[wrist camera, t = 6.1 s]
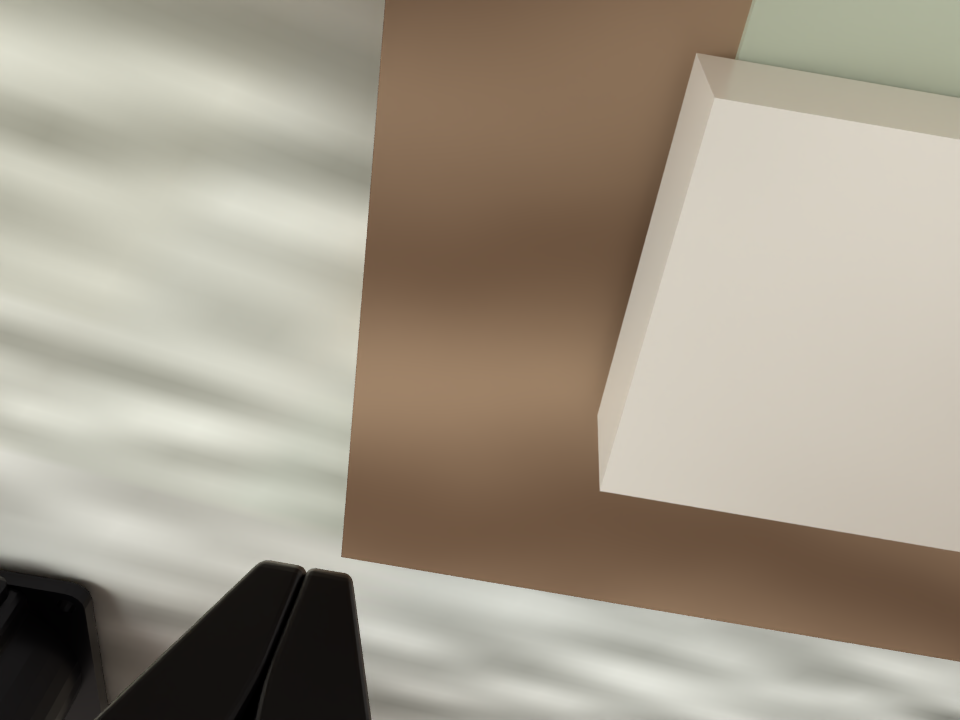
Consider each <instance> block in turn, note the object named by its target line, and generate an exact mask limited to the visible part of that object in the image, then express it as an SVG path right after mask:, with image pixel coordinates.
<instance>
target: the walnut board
mask: <svg viewBox="0 0 960 720" xmlns="http://www.w3.org/2000/svg"><path fill="white" fill-rule="evenodd" d="M696 53H700V54H706V55H712V56H717V57H723V58H729V59H735V60H741V61H747V62H752V63H758V64H764V65H770V66H776V67H782V68H787V69H793V70H799V71H805V72H811V73H817V74H822V75H828V76H834V77H840V78H846V79H852V80H857V81H863V82H869V83H875V84H881V85H886V86H892V87H898V88H904V89H910V90H916V91H921V92H927V93H933V94H939V95H945V96H951V97H956V98H960V0H385V11H384V24H383V37H382V49H381V62H380V75H379V87H378V100H377V112H376V125H375V138H374V150H373V163H372V176H371V188H370V201H369V214H368V226H367V239H366V251H365V264H364V277H363V289H362V302H361V315H360V327H359V340H358V353H357V365H356V378H355V390H354V403H353V416H352V428H351V441H350V454H349V466H348V479H347V492H346V504H345V517H344V529H343V542H342V555H341V557H345V558H351V559H357V560H363V561H368V562H374V563H380V564H386V565H392V566H398V567H404V568H410V569H416V570H422V571H428V572H433V573H439V574H445V575H451V576H457V577H463V578H469V579H475V580H481V581H487V582H493V583H498V584H504V585H510V586H516V587H522V588H528V589H534V590H540V591H546V592H552V593H558V594H563V595H569V596H575V597H581V598H587V599H593V600H599V601H605V602H611V603H617V604H623V605H629V606H634V607H640V608H646V609H652V610H658V611H664V612H670V613H676V614H682V615H688V616H694V617H699V618H705V619H711V620H717V621H723V622H729V623H735V624H741V625H747V626H753V627H759V628H764V629H770V630H776V631H782V632H788V633H794V634H800V635H806V636H812V637H818V638H824V639H829V640H835V641H841V642H847V643H853V644H859V645H865V646H871V647H877V648H883V649H889V650H894V651H900V652H906V653H912V654H918V655H924V656H930V657H936V658H942V659H948V660H954V661H959V662H960V552H957V551H951V550H945V549H939V548H933V547H927V546H922V545H916V544H910V543H904V542H898V541H892V540H886V539H880V538H874V537H869V536H863V535H857V534H851V533H845V532H839V531H833V530H827V529H821V528H815V527H810V526H804V525H798V524H792V523H786V522H780V521H774V520H768V519H762V518H757V517H751V516H745V515H739V514H733V513H727V512H721V511H715V510H709V509H703V508H698V507H692V506H686V505H680V504H674V503H668V502H662V501H656V500H650V499H645V498H639V497H633V496H627V495H621V494H615V493H609V492H603V491H600V485H599V451H598V417H597V415H598V411H599V408H600V404H601V400H602V397H603V393H604V389H605V386H606V382H607V378H608V375H609V371H610V367H611V364H612V360H613V356H614V353H615V349H616V345H617V342H618V338H619V334H620V331H621V327H622V323H623V320H624V316H625V312H626V309H627V305H628V301H629V298H630V294H631V290H632V287H633V283H634V279H635V276H636V272H637V268H638V265H639V261H640V257H641V254H642V250H643V246H644V243H645V239H646V235H647V232H648V228H649V224H650V221H651V217H652V213H653V210H654V206H655V202H656V199H657V195H658V191H659V188H660V184H661V180H662V177H663V173H664V169H665V166H666V162H667V159H668V155H669V151H670V148H671V144H672V140H673V137H674V133H675V129H676V126H677V122H678V118H679V115H680V111H681V107H682V104H683V100H684V96H685V93H686V89H687V85H688V82H689V78H690V74H691V71H692V67H693V63H694V60H695V56H696Z"/></svg>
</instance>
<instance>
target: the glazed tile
mask: <svg viewBox="0 0 960 720" xmlns="http://www.w3.org/2000/svg"><path fill="white" fill-rule="evenodd" d="M597 417H598V451H599V485H600V491H603V492H609V493H615V494H621V495H627V496H633V497H639V498H645V499H650V500H656V501H662V502H668V503H674V504H680V505H686V506H692V507H698V508H703V509H709V510H715V511H721V512H727V513H733V514H739V515H745V516H751V517H757V518H762V519H768V520H774V521H780V522H786V523H792V524H798V525H804V526H810V527H815V528H821V529H827V530H833V531H839V532H845V533H851V534H857V535H863V536H869V537H874V538H880V539H886V540H892V541H898V542H904V543H910V544H916V545H922V546H927V547H933V548H939V549H945V550H951V551H957V552H960V98H956V97H951V96H945V95H939V94H933V93H927V92H921V91H916V90H910V89H904V88H898V87H892V86H886V85H881V84H875V83H869V82H863V81H857V80H852V79H846V78H840V77H834V76H828V75H822V74H817V73H811V72H805V71H799V70H793V69H787V68H782V67H776V66H770V65H764V64H758V63H752V62H747V61H741V60H735V59H729V58H723V57H717V56H712V55H706V54H700V53H696V56H695V60H694V63H693V67H692V71H691V74H690V78H689V82H688V85H687V89H686V93H685V96H684V100H683V104H682V107H681V111H680V115H679V118H678V122H677V126H676V129H675V133H674V137H673V140H672V144H671V148H670V151H669V155H668V159H667V162H666V166H665V169H664V173H663V177H662V180H661V184H660V188H659V191H658V195H657V199H656V202H655V206H654V210H653V213H652V217H651V221H650V224H649V228H648V232H647V235H646V239H645V243H644V246H643V250H642V254H641V257H640V261H639V265H638V268H637V272H636V276H635V279H634V283H633V287H632V290H631V294H630V298H629V301H628V305H627V309H626V312H625V316H624V320H623V323H622V327H621V331H620V334H619V338H618V342H617V345H616V349H615V353H614V356H613V360H612V364H611V367H610V371H609V375H608V378H607V382H606V386H605V389H604V393H603V397H602V400H601V404H600V408H599V411H598V415H597Z"/></svg>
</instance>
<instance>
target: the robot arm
mask: <svg viewBox="0 0 960 720" xmlns="http://www.w3.org/2000/svg"><path fill="white" fill-rule="evenodd" d="M0 720H371V713H370V706H369V698H368V691H367V683H366V676H365V669H364V661H363V654H362V646H361V639H360V631H359V624H358V617H357V609H356V602H355V594H354V587H353V581H352V578H351V577H350V576H349V575H348V574H346V573H340V572H334V571H329V570H323V569H317V568H314V569H310V570H309V571H308V572H307V573H306V571H305V569H304V568H303V567H301V566H299V565H294V564H288V563H282V562H276V561H268V560H265V561H263V562H260V563H258V564H257V565H256V566H255V567H254V568H253V569H252V570H251V571H249V572H248V573H247V574H246V575H245V576H244V577H243V578H242V579H241V580H240V581H239V582H238V583H237V584H236V585H235V586H234V587H233V588H232V589H231V590H230V591H228V592H227V593H226V594H225V595H224V596H223V597H222V598H221V599H220V600H219V601H218V602H217V603H216V604H215V605H214V606H213V607H212V608H211V609H210V610H209V611H207V612H206V613H205V614H204V615H203V616H202V617H201V618H200V619H199V620H198V621H197V622H196V623H195V624H194V625H193V626H192V627H191V628H190V629H189V630H188V631H186V632H185V633H184V634H183V635H182V636H181V637H180V638H179V639H178V640H177V641H176V642H175V643H174V644H173V645H172V646H171V647H170V648H169V649H168V650H167V651H165V652H164V653H163V654H162V655H161V656H160V657H159V658H158V659H157V660H156V661H155V662H154V663H153V664H152V665H151V666H150V667H149V668H148V669H147V670H146V671H144V672H143V673H142V674H141V675H140V676H139V677H138V678H137V679H136V680H135V681H134V682H133V683H132V684H131V685H130V686H129V687H128V688H127V689H126V690H125V691H123V692H122V693H121V694H120V695H119V696H118V697H117V698H116V699H115V700H114V701H113V702H112V703H111V704H110V705H109V706H108V704H107V697H106V690H105V683H104V677H103V670H102V663H101V657H100V650H99V643H98V636H97V630H96V623H95V616H94V610H93V603H92V597H91V595H90V593H89V592H88V591H87V590H86V589H85V588H84V587H82V586H81V585H79V584H76V583H72V582H68V581H62V580H56V579H50V578H44V577H38V576H32V575H26V574H20V573H14V572H8V571H2V570H0Z"/></svg>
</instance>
